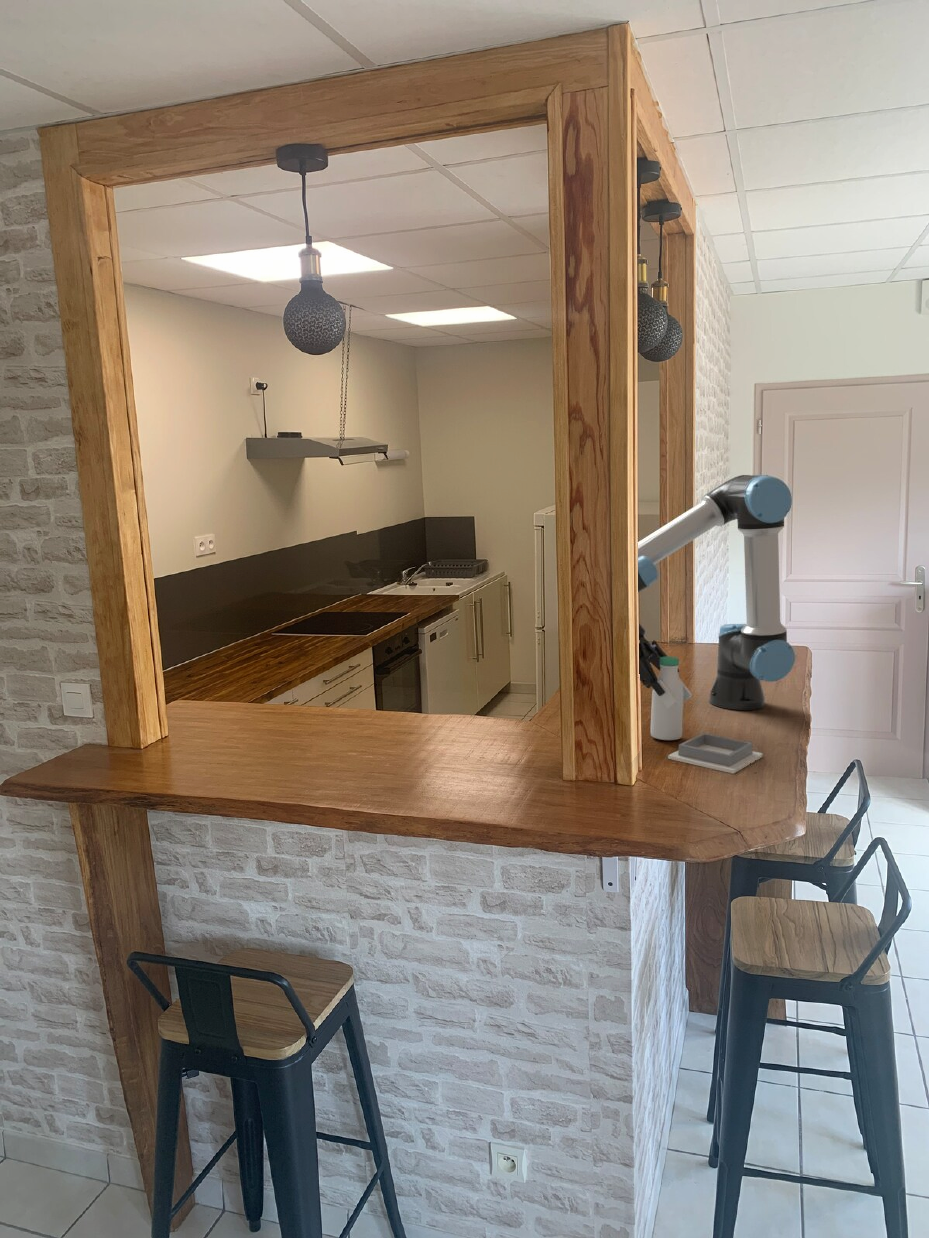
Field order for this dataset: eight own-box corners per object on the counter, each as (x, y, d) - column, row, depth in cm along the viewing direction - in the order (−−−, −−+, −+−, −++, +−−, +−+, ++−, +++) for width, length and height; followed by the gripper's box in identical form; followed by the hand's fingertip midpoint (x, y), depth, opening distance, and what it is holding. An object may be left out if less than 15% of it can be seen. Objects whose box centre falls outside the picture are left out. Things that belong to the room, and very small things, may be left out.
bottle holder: (699, 743, 228) (699, 730, 227) (762, 756, 217) (763, 743, 217) (667, 758, 215) (668, 744, 215) (733, 773, 205) (734, 759, 205)
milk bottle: (682, 741, 227) (686, 661, 223) (650, 739, 228) (653, 660, 225) (681, 732, 234) (685, 655, 231) (650, 731, 236) (653, 653, 232)
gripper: (635, 632, 245) (689, 702, 237) (593, 643, 229) (650, 718, 222) (653, 614, 240) (709, 685, 233) (613, 624, 225) (671, 700, 217)
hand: (680, 701), depth 227 cm, fingers closed on milk bottle, 7 cm apart
